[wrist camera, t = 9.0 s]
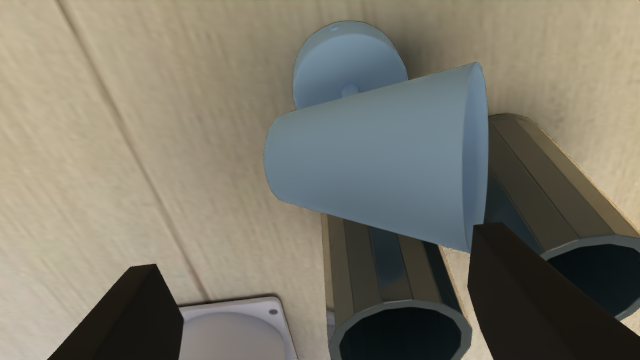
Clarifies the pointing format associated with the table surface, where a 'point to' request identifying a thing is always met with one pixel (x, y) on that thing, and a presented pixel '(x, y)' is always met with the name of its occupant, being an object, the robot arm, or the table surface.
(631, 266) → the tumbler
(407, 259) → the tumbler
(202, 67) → the table surface
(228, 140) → the table surface
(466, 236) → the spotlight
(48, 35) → the table surface
